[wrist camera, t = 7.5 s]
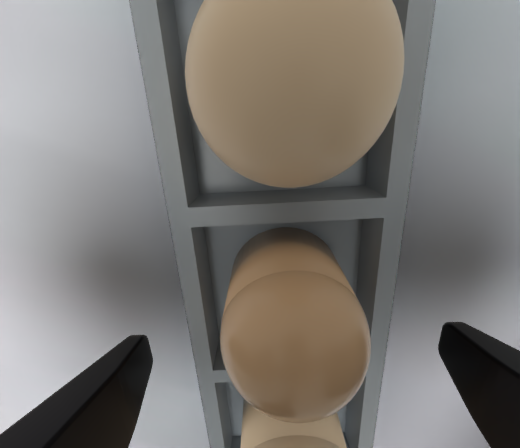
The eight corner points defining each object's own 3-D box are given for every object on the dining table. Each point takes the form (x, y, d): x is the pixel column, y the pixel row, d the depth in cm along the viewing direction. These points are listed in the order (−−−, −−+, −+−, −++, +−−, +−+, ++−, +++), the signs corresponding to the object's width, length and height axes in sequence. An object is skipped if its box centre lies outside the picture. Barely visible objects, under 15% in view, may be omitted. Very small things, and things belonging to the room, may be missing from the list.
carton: (352, 427, 14) (406, 606, 9) (222, 431, 14) (201, 610, 9) (398, -43, 7) (723, -432, 2) (154, -25, 8) (-82, -356, 2)
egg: (334, 317, 11) (389, 462, 6) (236, 320, 11) (217, 466, 6) (340, 224, 10) (415, 322, 5) (227, 229, 10) (194, 330, 5)
